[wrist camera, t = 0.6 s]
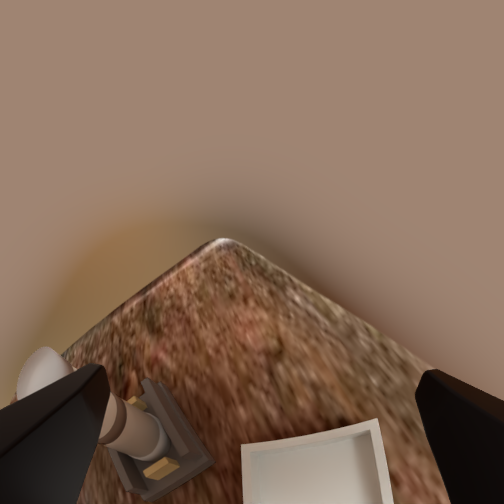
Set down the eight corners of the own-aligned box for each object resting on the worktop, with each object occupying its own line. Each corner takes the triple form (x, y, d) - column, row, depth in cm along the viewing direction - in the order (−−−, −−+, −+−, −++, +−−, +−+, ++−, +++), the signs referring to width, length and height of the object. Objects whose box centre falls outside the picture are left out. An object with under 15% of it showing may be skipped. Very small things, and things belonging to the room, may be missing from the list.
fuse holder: (215, 462, 19) (195, 455, 17) (152, 502, 17) (127, 497, 15) (167, 386, 26) (147, 371, 24) (115, 424, 24) (93, 413, 22)
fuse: (170, 463, 19) (45, 409, 11) (129, 460, 20) (10, 405, 12) (173, 416, 22) (63, 343, 14) (134, 418, 23) (28, 349, 15)
